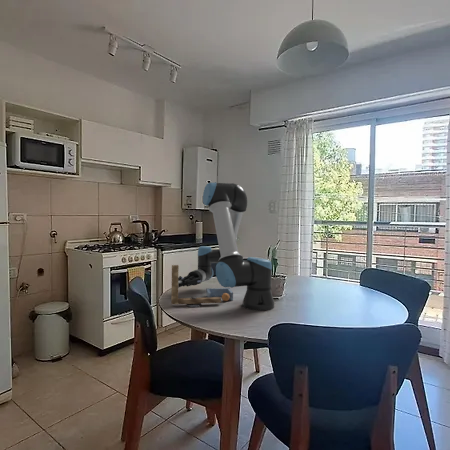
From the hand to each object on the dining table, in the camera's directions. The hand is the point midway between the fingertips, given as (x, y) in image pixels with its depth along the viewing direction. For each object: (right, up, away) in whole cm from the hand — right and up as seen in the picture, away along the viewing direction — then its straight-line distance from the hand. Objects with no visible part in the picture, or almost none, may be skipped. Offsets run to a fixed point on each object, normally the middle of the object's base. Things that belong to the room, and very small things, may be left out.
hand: (173, 286), depth 163 cm
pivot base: (+10, -9, 0) cm, 13 cm away
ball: (+25, -7, +11) cm, 28 cm away
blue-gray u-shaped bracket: (+21, -9, +14) cm, 27 cm away
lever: (+11, -8, 0) cm, 13 cm away
